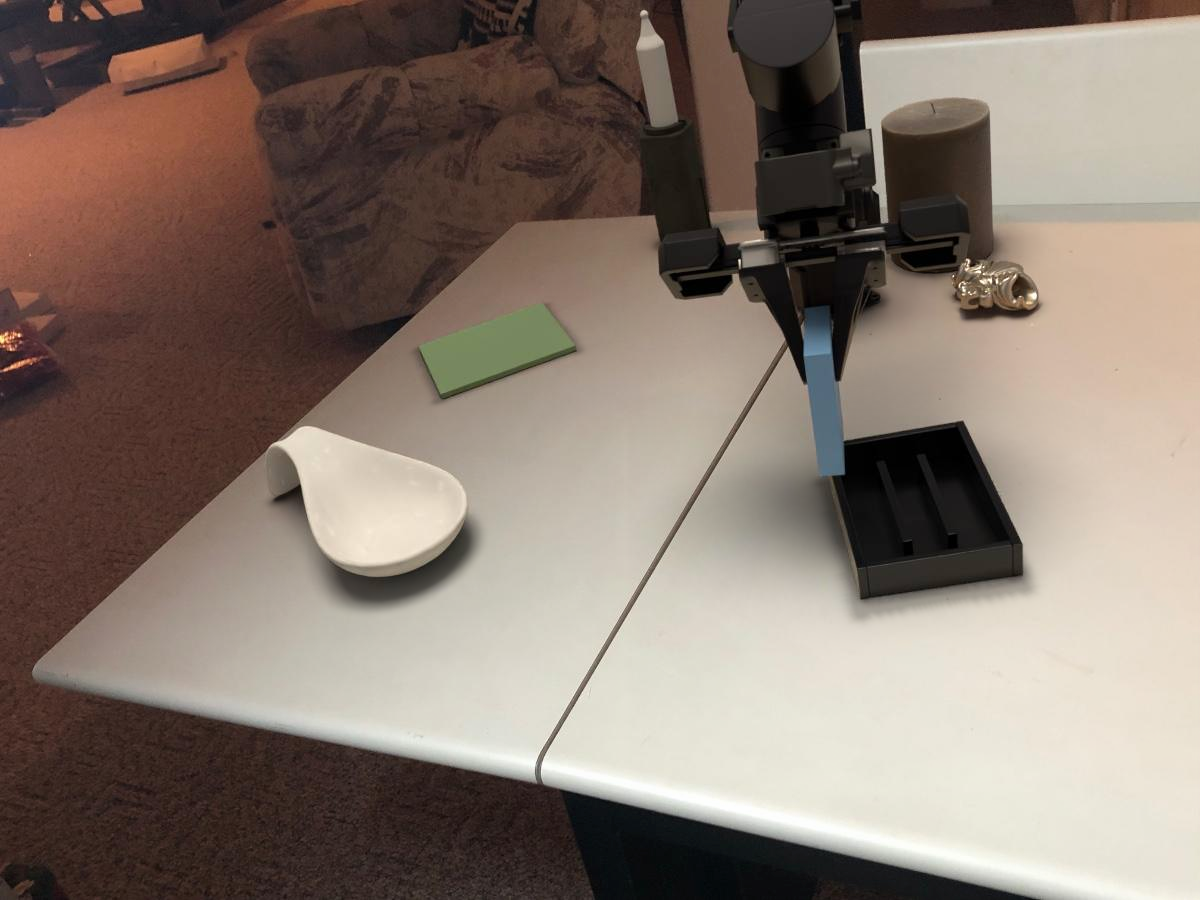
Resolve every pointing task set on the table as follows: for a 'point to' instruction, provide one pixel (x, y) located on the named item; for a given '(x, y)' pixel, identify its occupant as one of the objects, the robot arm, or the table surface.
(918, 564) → the dish rack
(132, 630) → the table surface
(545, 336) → the mat
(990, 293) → the ornament
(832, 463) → the blue rectangular block
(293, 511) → the table surface
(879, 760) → the table surface
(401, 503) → the spoon rest
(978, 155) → the pillar candle
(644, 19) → the candle
